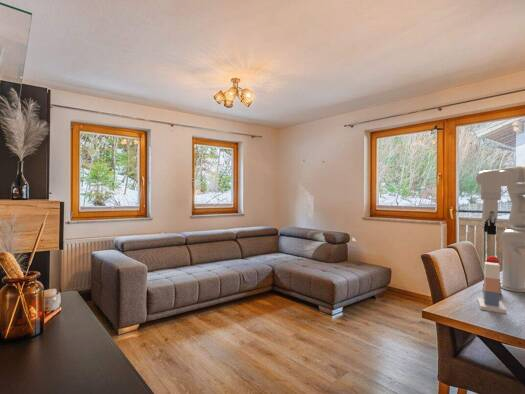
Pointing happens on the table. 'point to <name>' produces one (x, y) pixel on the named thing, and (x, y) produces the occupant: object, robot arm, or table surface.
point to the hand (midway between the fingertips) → (489, 233)
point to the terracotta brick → (491, 284)
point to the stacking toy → (492, 260)
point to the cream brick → (491, 270)
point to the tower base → (490, 307)
